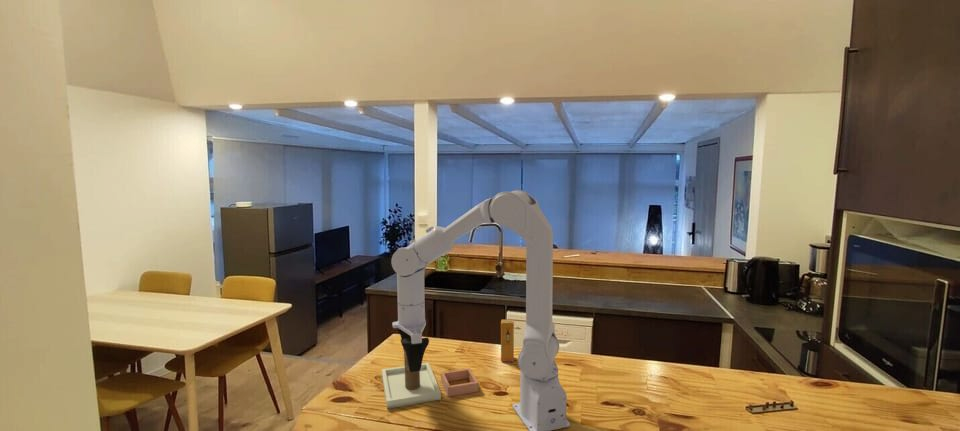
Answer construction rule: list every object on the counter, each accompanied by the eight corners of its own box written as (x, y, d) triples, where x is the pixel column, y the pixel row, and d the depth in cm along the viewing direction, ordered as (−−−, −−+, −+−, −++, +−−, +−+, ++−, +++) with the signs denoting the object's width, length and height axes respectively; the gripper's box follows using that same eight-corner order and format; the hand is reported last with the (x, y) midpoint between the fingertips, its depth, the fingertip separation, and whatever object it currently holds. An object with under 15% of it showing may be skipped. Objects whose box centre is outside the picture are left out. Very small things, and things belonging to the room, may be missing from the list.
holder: (478, 391, 87) (478, 382, 87) (447, 396, 85) (447, 387, 85) (469, 376, 93) (469, 368, 93) (440, 381, 91) (440, 372, 91)
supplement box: (513, 356, 104) (514, 318, 103) (513, 362, 100) (514, 323, 99) (501, 355, 104) (501, 318, 103) (500, 362, 101) (500, 323, 100)
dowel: (421, 388, 87) (420, 348, 86) (406, 391, 86) (405, 350, 85) (418, 381, 90) (417, 342, 89) (404, 383, 89) (403, 344, 88)
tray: (441, 399, 84) (440, 392, 84) (387, 408, 80) (386, 401, 80) (428, 368, 97) (428, 362, 97) (381, 375, 94) (381, 369, 94)
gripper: (389, 293, 92) (390, 351, 93) (395, 314, 78) (397, 381, 79) (419, 291, 94) (420, 347, 95) (431, 311, 80) (432, 376, 81)
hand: (412, 362), depth 87 cm, fingers open, 7 cm apart
